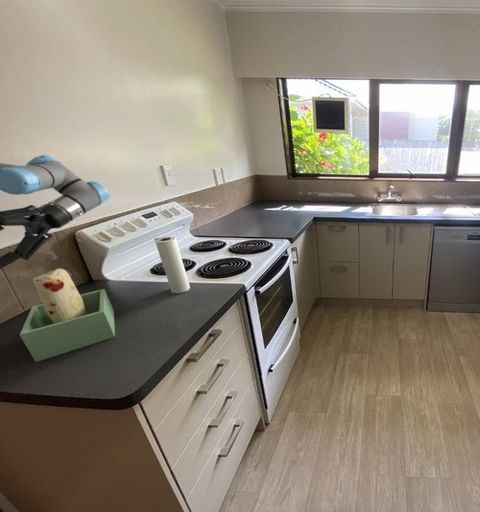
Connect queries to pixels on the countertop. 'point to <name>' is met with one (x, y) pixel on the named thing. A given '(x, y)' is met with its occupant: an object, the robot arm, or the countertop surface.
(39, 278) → the food model
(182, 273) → the paper towel roll
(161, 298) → the countertop surface
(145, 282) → the countertop surface
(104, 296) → the storage bin
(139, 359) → the countertop surface
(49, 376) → the countertop surface
